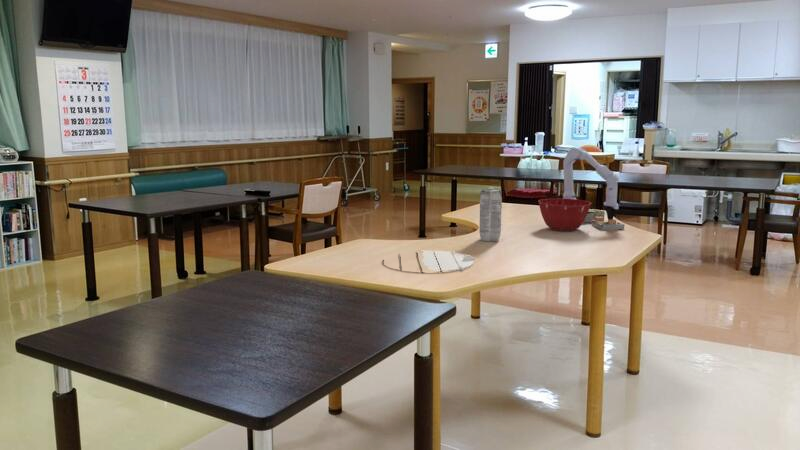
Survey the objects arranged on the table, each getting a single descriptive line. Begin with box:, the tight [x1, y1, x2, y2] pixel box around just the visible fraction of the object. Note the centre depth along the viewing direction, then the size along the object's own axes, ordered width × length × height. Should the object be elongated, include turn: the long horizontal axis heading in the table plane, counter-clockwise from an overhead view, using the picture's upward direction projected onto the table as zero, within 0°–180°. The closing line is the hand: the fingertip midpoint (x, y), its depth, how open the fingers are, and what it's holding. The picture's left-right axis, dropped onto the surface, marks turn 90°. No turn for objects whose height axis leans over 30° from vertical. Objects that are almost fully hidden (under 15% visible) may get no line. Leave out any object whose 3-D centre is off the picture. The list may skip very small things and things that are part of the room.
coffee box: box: [582, 208, 606, 224], centre depth 370 cm, size 9×6×16 cm
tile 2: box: [607, 218, 617, 225], centre depth 349 cm, size 4×4×2 cm
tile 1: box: [594, 216, 605, 221], centre depth 354 cm, size 4×4×2 cm
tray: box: [595, 221, 625, 231], centre depth 346 cm, size 13×8×3 cm, turn 96°
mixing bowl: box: [538, 198, 592, 232], centre depth 344 cm, size 28×28×15 cm
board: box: [591, 219, 608, 228], centre depth 354 cm, size 11×8×3 cm
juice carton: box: [479, 186, 503, 243], centre depth 313 cm, size 9×10×27 cm
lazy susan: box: [422, 250, 476, 272], centre depth 269 cm, size 40×39×3 cm
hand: (610, 220), depth 351 cm, fingers closed
